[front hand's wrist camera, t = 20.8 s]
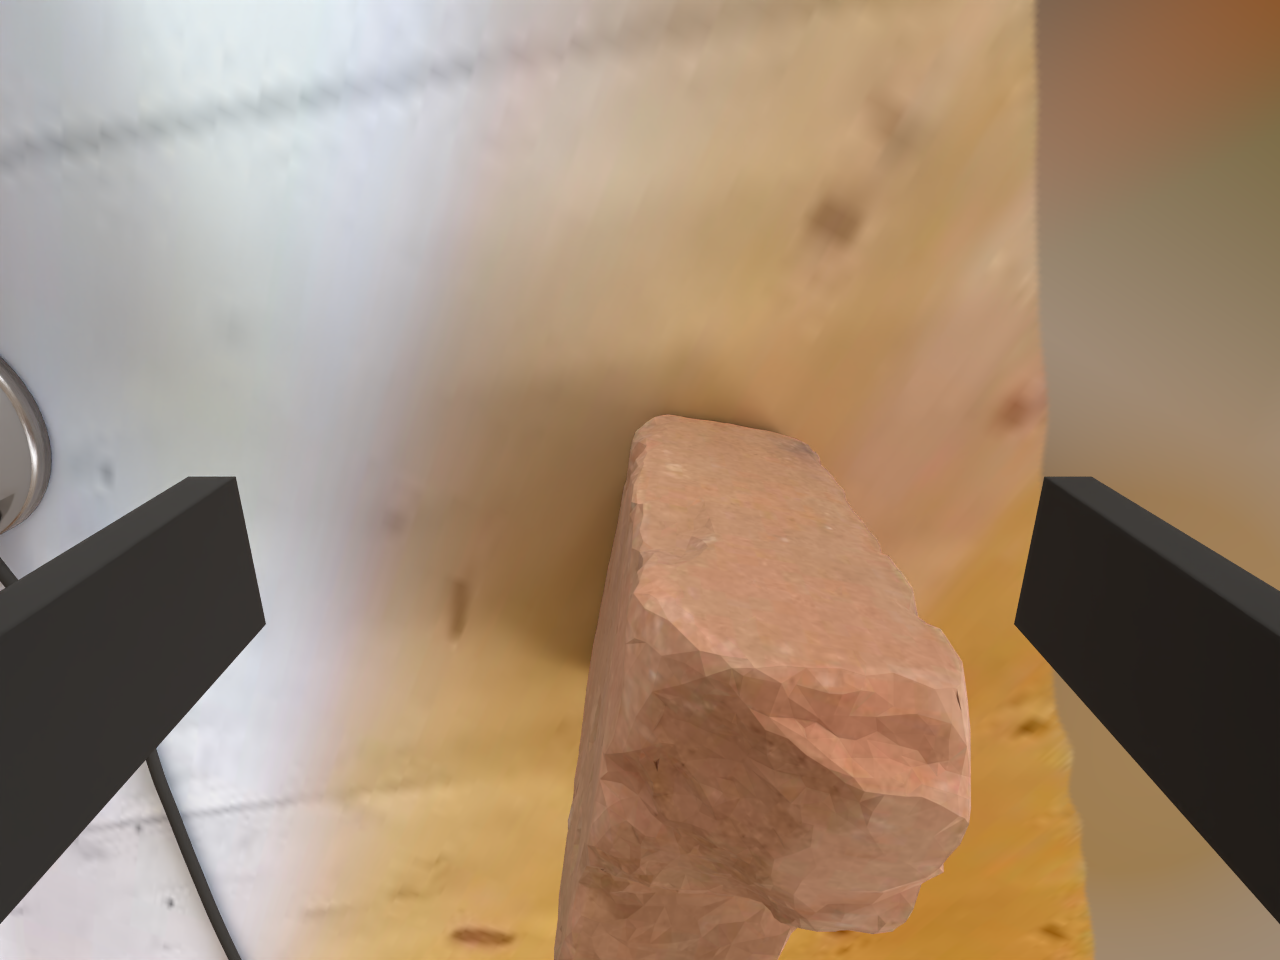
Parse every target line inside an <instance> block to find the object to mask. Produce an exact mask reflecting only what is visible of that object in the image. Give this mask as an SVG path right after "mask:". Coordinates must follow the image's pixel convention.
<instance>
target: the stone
mask: <svg viewBox="0 0 1280 960" xmlns="http://www.w3.org/2000/svg"><path fill="white" fill-rule="evenodd" d="M970 810H971V748H970V722H969V710H968V699H967V692H966V684H965V677H964V670H963V663H962V661H961V659H960V657H959V656H958V654H957V653H956V651H955V650H954V648H953V647H952V645H951V643H950V642H949V640H948V639H947V637H946V636H945V634H944V633H943V632H942V630H941V629H940V628H937V627H935V626H932V625H930V624H927V623H926V622H925V621H923V620H922V619H921V618H919V617H918V613H917V608H916V603H915V598H914V592H913V588H912V586H911V585H910V583H909V582H908V580H907V579H906V577H905V576H904V575H903V573H902V572H901V571H900V570H899V569H898V568H897V567H896V565H895V564H894V562H893V561H892V559H891V558H890V557H889V556H888V555H885V554H882V551H881V546H880V544H879V541H878V539H877V538H876V537H875V536H874V535H873V534H872V533H871V532H870V530H869V529H868V528H867V526H866V525H865V523H864V522H863V521H862V519H861V518H860V517H859V516H858V515H857V514H856V513H855V512H854V511H853V509H852V508H851V506H850V504H849V503H848V501H847V499H846V496H845V490H844V489H843V488H842V487H840V486H839V485H838V483H837V482H836V480H835V479H834V477H833V476H832V475H831V474H830V473H829V472H828V471H827V469H825V468H824V467H823V466H822V465H821V461H820V457H819V455H818V454H817V453H816V452H814V451H813V450H812V449H811V448H810V446H809V445H808V444H806V443H804V442H802V441H800V440H798V439H796V438H792V437H789V436H785V435H782V434H779V433H775V432H771V431H767V430H760V429H754V428H749V427H744V426H739V425H734V424H729V423H721V422H716V421H710V420H700V419H692V418H686V417H682V416H676V415H668V414H667V415H661V416H656V417H653V418H652V419H651V420H649V421H648V422H646V423H645V424H644V425H642V426H641V427H640V428H639V429H638V430H636V431H635V434H634V438H633V441H632V444H631V448H630V456H629V465H628V472H627V479H626V483H625V485H624V489H623V495H622V500H621V506H620V512H619V518H618V523H617V529H616V533H615V538H614V542H613V547H612V552H611V557H610V561H609V565H608V570H607V576H606V581H605V587H604V593H603V597H602V602H601V606H600V612H599V619H598V624H597V629H596V634H595V638H594V643H593V649H592V655H591V662H590V669H589V676H588V682H587V689H586V698H585V707H584V716H583V724H582V733H581V740H580V746H579V757H578V762H577V768H576V774H575V780H574V795H573V802H572V806H571V810H570V814H569V819H568V834H567V840H566V848H565V856H564V864H563V871H562V878H561V885H560V892H559V908H558V923H557V931H556V939H555V947H554V960H778V958H779V956H780V954H781V952H782V950H783V948H784V946H785V944H786V942H787V940H788V939H789V937H790V935H791V933H792V932H793V931H794V930H795V929H796V928H802V929H807V930H812V931H817V932H835V931H838V930H851V931H858V932H864V933H870V934H877V933H884V932H892V931H894V930H895V929H896V928H897V927H898V926H900V925H902V924H903V923H905V922H906V920H907V919H908V917H909V916H910V914H911V913H912V911H913V908H914V905H915V902H916V899H917V896H918V893H919V890H920V887H921V884H922V883H924V882H925V881H927V880H929V879H931V878H933V877H935V876H937V875H939V874H941V873H943V872H944V870H943V863H944V862H945V861H946V859H947V858H948V857H949V856H950V855H951V854H952V852H953V851H954V850H955V849H956V848H957V847H958V846H959V845H960V843H961V841H962V839H963V837H964V834H965V832H966V830H967V827H968V825H969V819H970Z"/></svg>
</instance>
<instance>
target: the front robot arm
mask: <svg viewBox="0 0 1280 960" xmlns="http://www.w3.org/2000/svg"><path fill="white" fill-rule="evenodd" d="M50 473H51V448H50V441H49V437H48V432H47V429H46V426H45V423H44V420H43V417H42V415H41V413H40V410H39V408H38V406H37V404H36V402H35V401H34V399H33V397H32V395H31V394H30V392H29V391H28V389H27V388H26V386H25V385H24V383H23V382H22V381H21V379H20V378H19V377H18V375H17V374H16V373H15V372H14V371H13V369H12V368H11V367H10V366H9V365H8V364H7V363H6V362H5V361H4V360H3V359H2V358H1V357H0V534H2V533H4V532H6V531H8V530H10V529H12V528H14V527H15V526H17V525H18V524H20V523H21V522H23V521H24V520H25V519H26V518H27V517H29V516H30V515H31V513H32V512H33V511H34V510H35V509H36V508H37V506H38V505H39V503H40V502H41V500H42V498H43V496H44V494H45V492H46V489H47V486H48V483H49V478H50ZM0 581H1V583H2V584H3V585H4V586H5V589H3V590H2V591H0V924H1V922H2V921H3V920H4V919H5V918H6V917H7V916H8V915H9V913H10V912H11V911H12V910H13V909H14V908H15V907H16V906H17V904H18V903H19V902H20V901H21V900H22V899H23V898H24V897H25V895H26V894H27V893H28V892H29V891H30V890H31V889H32V887H33V886H34V885H35V884H36V883H37V882H38V881H39V880H40V878H41V877H42V876H43V875H44V874H45V873H46V872H47V871H48V869H49V868H50V867H51V866H52V865H53V864H54V863H55V862H56V860H57V859H58V858H59V857H60V856H61V855H62V854H63V853H64V851H65V850H66V849H67V848H68V847H69V846H70V845H71V843H72V842H73V841H74V840H75V839H76V838H77V837H78V836H79V834H80V833H81V832H82V831H83V830H84V829H85V828H86V827H87V825H88V824H89V823H90V822H91V821H92V820H93V819H94V818H95V816H96V815H97V814H98V813H99V812H100V811H101V810H102V808H103V807H104V806H105V805H106V804H107V803H108V802H109V801H110V799H111V798H112V797H113V796H114V795H115V794H116V793H117V792H118V790H119V789H120V788H121V787H122V786H123V785H124V784H125V783H126V781H127V780H128V779H129V778H130V777H131V776H132V775H133V773H134V772H135V771H136V770H137V769H138V768H139V767H140V766H141V764H142V763H143V762H144V761H145V760H146V762H147V765H148V768H149V771H150V774H151V777H152V780H153V782H154V785H155V788H156V790H157V793H158V795H159V798H160V800H161V802H162V805H163V807H164V810H165V812H166V815H167V817H168V820H169V822H170V825H171V827H172V830H173V833H174V835H175V838H176V840H177V843H178V845H179V848H180V850H181V853H182V855H183V858H184V860H185V862H186V865H187V867H188V870H189V872H190V875H191V877H192V879H193V882H194V884H195V887H196V889H197V891H198V894H199V896H200V899H201V901H202V903H203V906H204V908H205V910H206V913H207V915H208V917H209V919H210V922H211V924H212V926H213V928H214V930H215V932H216V935H217V937H218V939H219V941H220V943H221V945H222V947H223V949H224V951H225V953H226V955H227V957H228V960H241V958H240V956H239V954H238V952H237V950H236V947H235V945H234V943H233V941H232V939H231V937H230V935H229V933H228V931H227V928H226V926H225V924H224V922H223V920H222V917H221V915H220V913H219V911H218V908H217V906H216V904H215V901H214V899H213V896H212V894H211V891H210V889H209V887H208V884H207V882H206V879H205V877H204V874H203V872H202V869H201V867H200V864H199V862H198V860H197V857H196V855H195V852H194V850H193V847H192V844H191V842H190V839H189V837H188V834H187V832H186V829H185V826H184V824H183V821H182V819H181V816H180V813H179V811H178V808H177V806H176V803H175V801H174V798H173V796H172V793H171V791H170V788H169V786H168V783H167V781H166V778H165V775H164V772H163V769H162V766H161V763H160V760H159V756H158V753H157V750H156V748H157V746H158V745H159V744H160V743H161V742H162V741H163V740H164V739H165V737H166V736H167V735H168V734H169V733H170V732H171V731H172V729H173V728H174V727H175V726H176V725H177V724H178V723H179V722H180V720H181V719H182V718H183V717H184V716H185V715H186V714H187V713H188V711H189V710H190V709H191V708H192V707H193V706H194V705H195V704H196V702H197V701H198V700H199V699H200V698H201V697H202V696H203V694H204V693H205V692H206V691H207V690H208V689H209V688H210V687H211V685H212V684H213V683H214V682H215V681H216V680H217V679H218V678H219V676H220V675H221V674H222V673H223V672H224V671H225V670H226V669H227V667H228V666H229V665H230V664H231V663H232V662H233V661H234V659H235V658H236V657H237V656H238V655H239V654H240V653H241V652H242V650H243V649H244V648H245V647H246V646H247V645H248V644H249V643H250V641H251V640H252V639H253V638H254V637H255V636H256V635H257V634H258V632H259V631H260V630H261V629H262V628H263V627H264V626H265V624H266V623H265V618H264V613H263V608H262V603H261V598H260V593H259V588H258V584H257V579H256V574H255V569H254V564H253V559H252V554H251V549H250V545H249V540H248V535H247V530H246V525H245V520H244V515H243V510H242V506H241V501H240V496H239V491H238V486H237V481H236V477H187V478H186V479H184V480H182V481H181V482H179V483H177V484H176V485H174V486H172V487H171V488H169V489H167V490H166V491H164V492H163V493H161V494H159V495H158V496H156V497H154V498H153V499H151V500H149V501H148V502H146V503H144V504H143V505H141V506H140V507H138V508H136V509H135V510H133V511H131V512H130V513H128V514H126V515H125V516H123V517H121V518H120V519H118V520H117V521H115V522H113V523H112V524H110V525H108V526H107V527H105V528H103V529H102V530H100V531H98V532H97V533H95V534H94V535H92V536H90V537H89V538H87V539H85V540H84V541H82V542H80V543H79V544H77V545H75V546H74V547H72V548H71V549H69V550H67V551H66V552H64V553H62V554H61V555H59V556H57V557H56V558H54V559H52V560H51V561H49V562H48V563H46V564H44V565H43V566H41V567H39V568H38V569H36V570H34V571H33V572H31V573H29V574H28V575H26V576H25V577H23V578H21V579H20V580H18V579H17V578H16V577H15V576H14V574H13V573H12V572H11V570H10V569H9V568H8V567H7V565H6V564H5V563H4V562H3V560H2V559H1V558H0ZM1014 625H1015V626H1016V627H1017V628H1018V629H1019V630H1020V631H1021V632H1022V634H1023V635H1024V636H1025V637H1026V638H1027V639H1028V640H1029V641H1030V643H1031V644H1032V645H1033V646H1034V647H1035V648H1036V649H1037V650H1038V652H1039V653H1040V654H1041V655H1042V656H1043V657H1044V658H1045V659H1046V661H1047V662H1048V663H1049V664H1050V665H1051V666H1052V667H1053V669H1054V670H1055V671H1056V672H1057V673H1058V674H1059V675H1060V676H1061V678H1062V679H1063V680H1064V681H1065V682H1066V683H1067V684H1068V685H1069V687H1070V688H1071V689H1072V690H1073V691H1074V692H1075V693H1076V694H1077V696H1078V697H1079V698H1080V699H1081V700H1082V701H1083V702H1084V703H1085V705H1086V706H1087V707H1088V708H1089V709H1090V710H1091V711H1092V712H1093V714H1094V715H1095V716H1096V717H1097V718H1098V719H1099V720H1100V722H1101V723H1102V724H1103V725H1104V726H1105V727H1106V728H1107V729H1108V731H1109V732H1110V733H1111V734H1112V735H1113V736H1114V737H1115V739H1116V740H1117V741H1118V742H1119V743H1120V744H1121V745H1122V746H1123V748H1124V749H1125V750H1126V751H1127V752H1128V753H1129V754H1130V755H1131V757H1132V758H1133V759H1134V760H1135V761H1136V762H1137V763H1138V764H1139V765H1140V767H1141V768H1142V769H1143V770H1144V771H1145V772H1146V773H1147V775H1148V776H1149V777H1150V778H1151V779H1152V780H1153V781H1154V782H1155V784H1156V785H1157V786H1158V787H1159V788H1160V789H1161V790H1162V791H1163V793H1164V794H1165V795H1166V796H1167V797H1168V798H1169V799H1170V801H1171V802H1172V803H1173V804H1174V805H1175V806H1176V807H1177V808H1178V810H1179V811H1180V812H1181V813H1182V814H1183V815H1184V816H1185V817H1186V819H1187V820H1188V821H1189V822H1190V823H1191V824H1192V825H1193V827H1194V828H1195V829H1196V830H1197V831H1198V832H1199V833H1200V834H1201V836H1202V837H1203V838H1204V839H1205V840H1206V841H1207V842H1208V843H1209V845H1210V846H1211V847H1212V848H1213V849H1214V850H1215V851H1216V852H1217V854H1218V855H1219V856H1220V857H1221V858H1222V859H1223V860H1224V861H1225V863H1226V864H1227V865H1228V866H1229V867H1230V868H1231V869H1232V871H1233V872H1234V873H1235V874H1236V875H1237V876H1238V877H1239V878H1240V880H1241V881H1242V882H1243V883H1244V884H1245V885H1246V886H1247V887H1248V889H1249V890H1250V891H1251V892H1252V893H1253V894H1254V895H1255V897H1256V898H1257V899H1258V900H1259V901H1260V902H1261V903H1262V904H1263V906H1264V907H1265V908H1266V909H1267V910H1268V911H1269V912H1270V913H1271V915H1272V916H1273V917H1274V918H1275V919H1276V920H1277V921H1278V922H1279V924H1280V591H1278V590H1277V589H1275V588H1274V587H1272V586H1270V585H1269V584H1267V583H1265V582H1264V581H1262V580H1260V579H1259V578H1257V577H1255V576H1254V575H1252V574H1251V573H1249V572H1247V571H1246V570H1244V569H1242V568H1241V567H1239V566H1237V565H1236V564H1234V563H1232V562H1231V561H1229V560H1227V559H1226V558H1224V557H1223V556H1221V555H1219V554H1218V553H1216V552H1214V551H1213V550H1211V549H1209V548H1208V547H1206V546H1205V545H1203V544H1201V543H1200V542H1198V541H1196V540H1195V539H1193V538H1191V537H1190V536H1188V535H1186V534H1185V533H1183V532H1182V531H1180V530H1178V529H1177V528H1175V527H1173V526H1172V525H1170V524H1168V523H1167V522H1165V521H1163V520H1162V519H1160V518H1159V517H1157V516H1155V515H1154V514H1152V513H1150V512H1149V511H1147V510H1145V509H1144V508H1142V507H1140V506H1139V505H1137V504H1136V503H1134V502H1132V501H1131V500H1129V499H1127V498H1126V497H1124V496H1122V495H1121V494H1119V493H1117V492H1116V491H1114V490H1113V489H1111V488H1109V487H1108V486H1106V485H1104V484H1103V483H1101V482H1099V481H1098V480H1096V479H1094V478H1093V477H1044V481H1043V486H1042V491H1041V496H1040V501H1039V505H1038V510H1037V515H1036V520H1035V525H1034V530H1033V535H1032V540H1031V544H1030V549H1029V554H1028V559H1027V564H1026V569H1025V574H1024V579H1023V583H1022V588H1021V593H1020V598H1019V603H1018V608H1017V613H1016V618H1015V623H1014Z"/></svg>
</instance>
